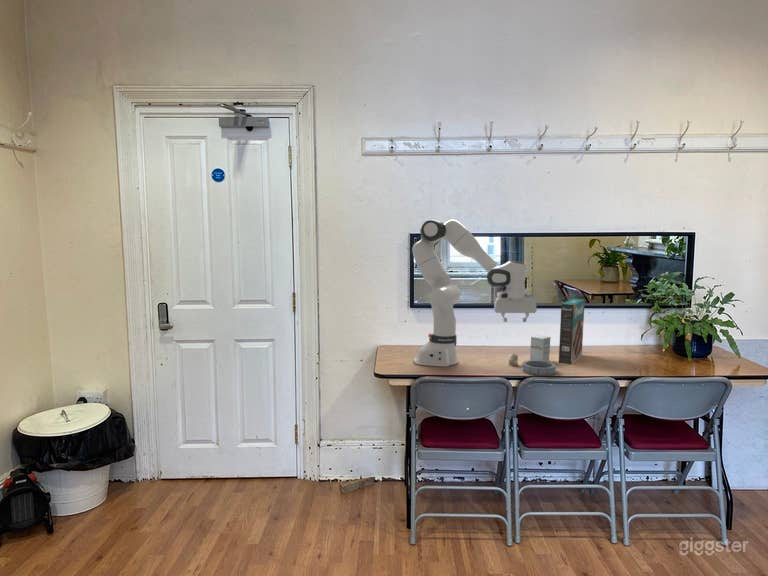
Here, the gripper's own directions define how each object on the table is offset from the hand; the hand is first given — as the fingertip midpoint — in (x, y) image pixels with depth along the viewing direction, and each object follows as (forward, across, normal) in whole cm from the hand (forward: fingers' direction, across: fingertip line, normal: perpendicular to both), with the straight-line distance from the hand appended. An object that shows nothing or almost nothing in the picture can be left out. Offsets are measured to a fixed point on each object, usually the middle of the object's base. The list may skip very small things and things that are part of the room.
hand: (514, 321), depth 262 cm
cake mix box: (+22, -32, -14) cm, 41 cm away
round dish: (+22, -10, +11) cm, 26 cm away
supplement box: (+22, -15, -9) cm, 28 cm away
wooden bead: (+22, 0, 0) cm, 22 cm away
